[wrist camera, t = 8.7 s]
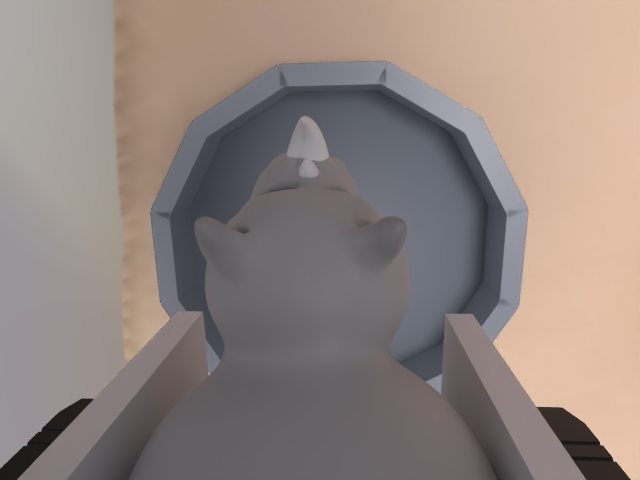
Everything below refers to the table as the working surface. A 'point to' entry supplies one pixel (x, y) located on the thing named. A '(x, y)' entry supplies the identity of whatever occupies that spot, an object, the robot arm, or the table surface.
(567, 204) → the table surface
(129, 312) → the table surface
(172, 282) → the round tray
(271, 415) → the round bodied animal figurine
